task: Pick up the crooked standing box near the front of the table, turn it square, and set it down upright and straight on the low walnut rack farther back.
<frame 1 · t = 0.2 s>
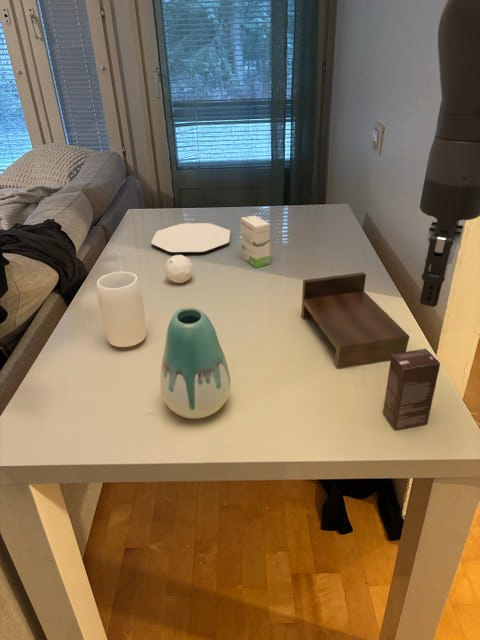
hand: (432, 291, 66), 22 cm above the table, tool pointing down, fingers open, 8 cm apart
box: (403, 419, 76), on the table
vase: (197, 405, 80), on the table
rack: (349, 335, 97), on the table
cup: (128, 342, 97), on the table
ink box: (255, 261, 130), on the table
plate: (191, 241, 144), on the table
ornament: (180, 281, 120), on the table
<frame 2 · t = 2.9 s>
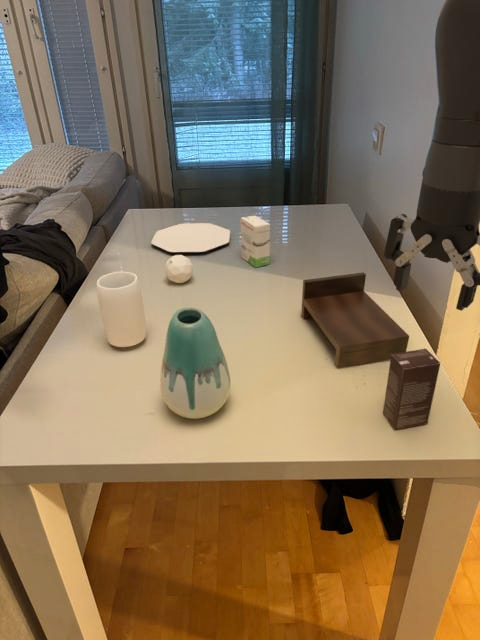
hand: (430, 298, 65), 22 cm above the table, tool pointing down, fingers open, 8 cm apart
nothing on the table moved.
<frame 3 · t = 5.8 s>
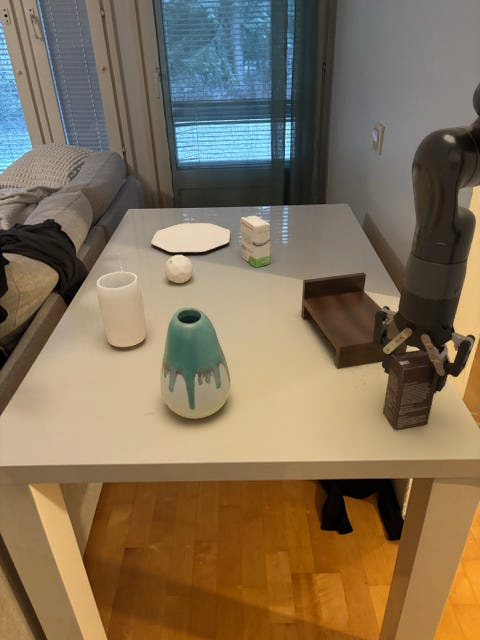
hand: (411, 380, 72), 8 cm above the table, tool pointing down, fingers closed on box, 6 cm apart
box: (403, 419, 76), on the table, touching gripper
everything else where it was.
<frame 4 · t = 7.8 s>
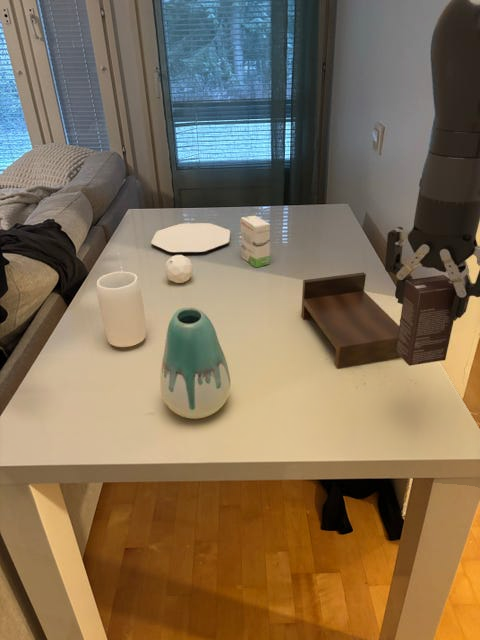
hand: (427, 309, 65), 20 cm above the table, tool pointing down, fingers closed on box, 6 cm apart
box: (418, 356, 69), point 12 cm above the table, touching gripper
everything else where it was.
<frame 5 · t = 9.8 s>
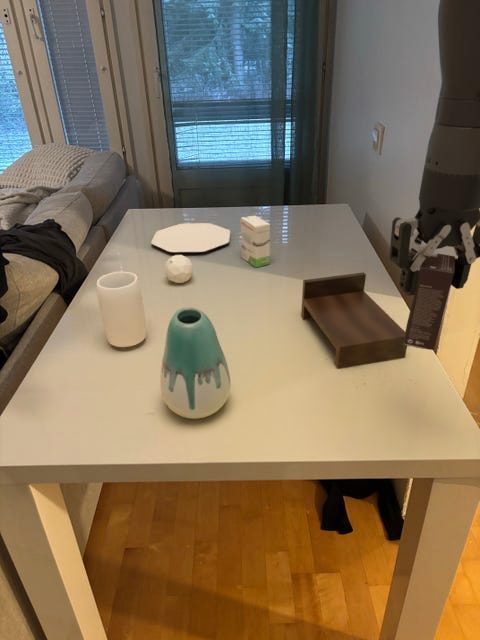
hand: (432, 289, 63), 24 cm above the table, tool pointing down, fingers closed on box, 6 cm apart
box: (420, 338, 67), point 16 cm above the table, touching gripper
everything else where it was.
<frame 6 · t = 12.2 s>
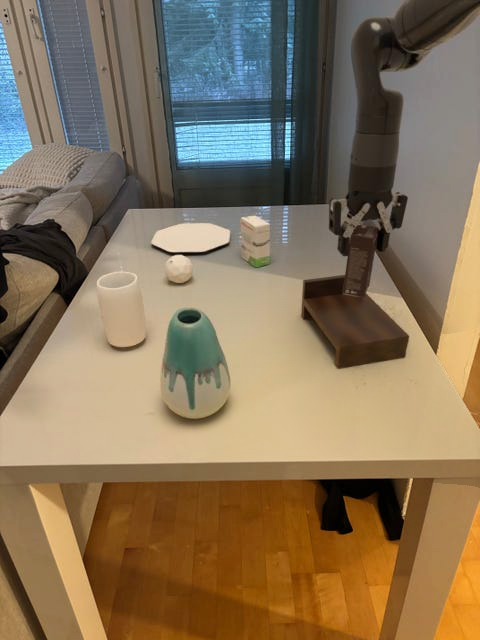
hand: (362, 252, 86), 19 cm above the table, tool pointing down, fingers closed on box, 6 cm apart
box: (356, 290, 90), point 11 cm above the table, touching gripper
everything else where it was.
when the fingers open (13 cm above the table, at t = 14.2 s): box stays where it is, resting on rack.
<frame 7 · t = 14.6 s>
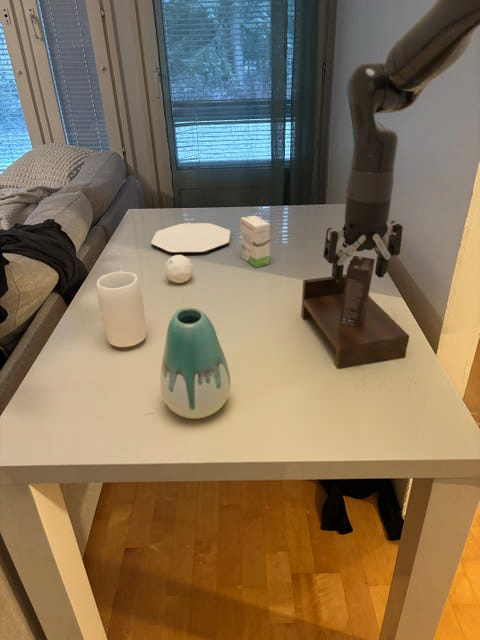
hand: (358, 278, 89), 14 cm above the table, tool pointing down, fingers open, 8 cm apart
box: (353, 318, 93), point 5 cm above the table, touching rack
everything else where it was.
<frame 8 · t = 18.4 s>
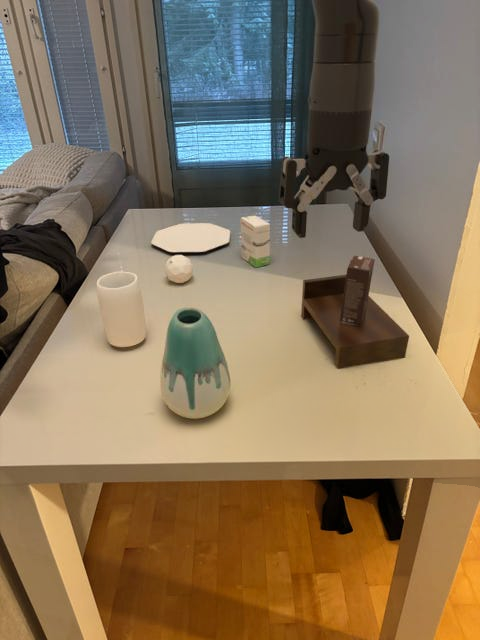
hand: (329, 232, 64), 30 cm above the table, tool pointing down, fingers open, 8 cm apart
nothing on the table moved.
at the end: box inside the target area on the rack (0.1 cm from its centre), point 4.8 cm above the rack's base; box tilted 0°; the gripper is holding nothing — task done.
